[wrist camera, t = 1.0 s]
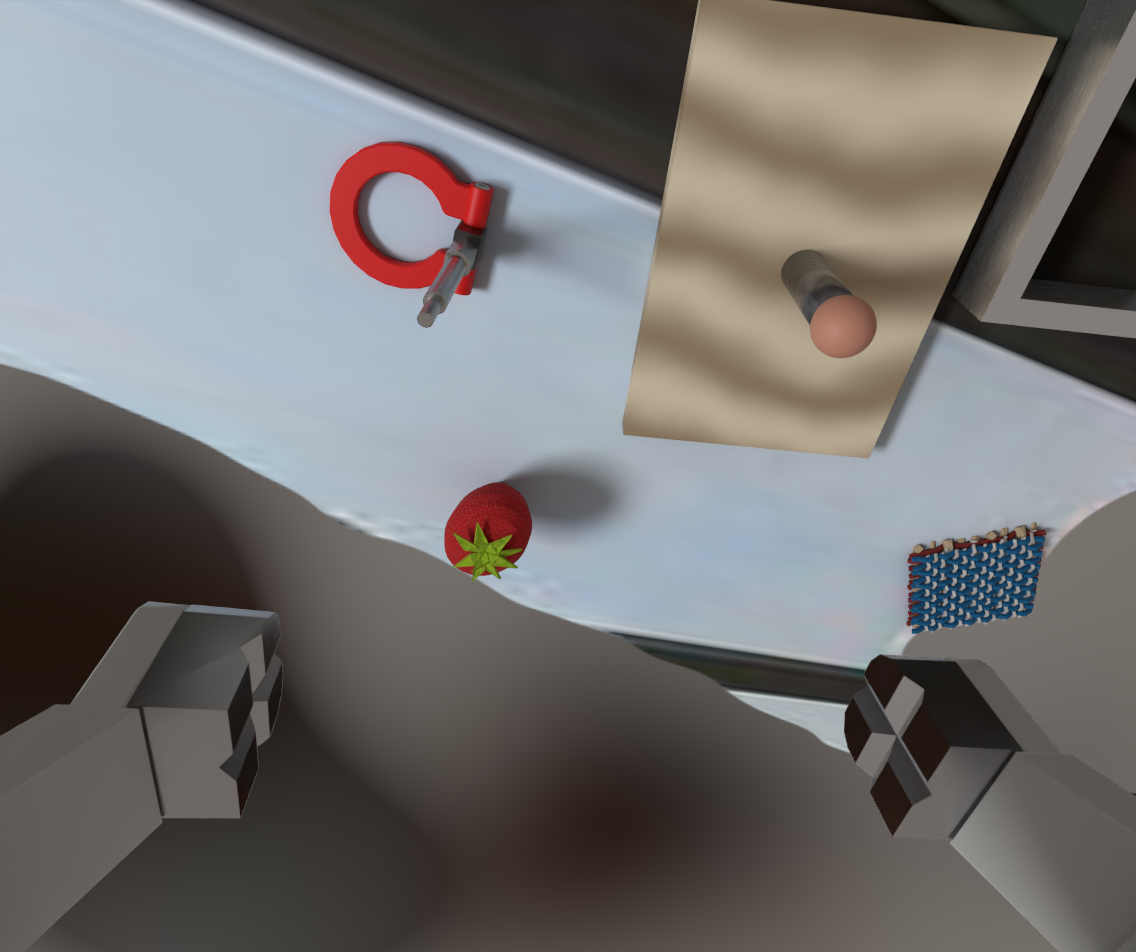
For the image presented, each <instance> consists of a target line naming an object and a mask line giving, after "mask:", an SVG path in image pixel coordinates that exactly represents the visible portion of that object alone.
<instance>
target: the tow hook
mask: <svg viewBox="0 0 1136 952" xmlns="http://www.w3.org/2000/svg"><path fill="white" fill-rule="evenodd" d="M385 172H401V173H404V174H408V175H411V176H413V177H415V178H417V179H418V180H420V181H422V182H423V183H424V184H425V185H426V186H427V187H428V188H430V189H431V190H432V191H433V193H434V194H435V196H436V197H437V199H438V200H439V202H440V204H441V207H442V210H443V212H444V213H445V214H446V215H448V216H451V217H455V218H458V219H461V220H462V221H461V222H460V223H459V225H458V227H457V228H456V230H455V233H454V238H453V243H452V244H451V246H450V247H449V249H448V250H445V249H439V250H437V251H436V252H435V254H433V255H431V256H430V257H428V258H427V259H424V260H421V261H417V262H402V261H398V260H394V259H391V258H390V257H388V256H386V255H384V254H382V253H381V252H380V251H379V250H377V249H376V248H375V247H374V246H373V245H372V244H371V243H370V241H369V240H368V238H367V237H366V236H365V234H364V232H363V229H362V227H361V225H360V221H359V216H358V200H359V197H360V194H361V191H362V189H363V187H364V186H365V185H366V183H367V182H368V180H370V179H371V178H373V177H374V176H376V175H379V174H382V173H385ZM493 191H494V189H493V188H492V187H490V186H488V185H486V184H483V183H478V182H471V183H470V184H467V183H464V182H461V181H458V180H457V178H456V176H455V175H454V173H453V172H452V171H451V170H450V169H449V168H448V167H447V166H446V165H445V164H444V163H443V162H442V161H441V160H440V159H439V158H438V157H436V156H434V155H433V154H431V153H429V152H427V151H426V150H424V149H422V148H420V147H418V146H414V145H410V144H407V143H403V142H380V143H377V144H374V145H371V146H368V147H364V148H363V149H361V150H360V151H359V152H357V153H356V154H354V155H353V156H352V157H350V158H349V159H348V160H346V162H345V163H344V165H343V166H342V167H341V169H340V170H339V172H338V173H337V174H336V177H335V180H334V183H333V186H332V189H331V192H330V215H331V220H332V225H333V229H334V232H335V234H336V236H337V238H338V240H339V242H340V245H341V247H342V248H343V250H344V251H345V252H346V254H347V255H348V256H349V257H350V259H351V260H352V261H353V263H354V264H356V265H357V266H358V267H359V268H360V269H361V270H363V271H364V272H365V273H366V274H367V275H369V276H371V277H372V278H374V279H376V280H378V281H380V282H382V283H384V284H387V285H391V286H395V287H399V288H423V287H427V286H430V285H431V286H430V288H429V290H428V291H427V293H426V294H425V296H424V298H423V304H424V306H423V308H422V310H421V311H420V313H419V315H418V317H417V321H418V323H419V324H420V325H421V326H422V327H426V328H427V327H430V326H432V324H433V323H434V321H435V319H436V317H437V315H438V314H441V313H443V312H444V311H445V309H446V308H447V306H448V304H449V302H450V300H451V298H452V296H453V294H454V293H456V294H460V295H469V294H471V290H472V286H473V281H474V277H475V272H476V268H477V264H478V262H479V260H480V257H481V253H482V248H483V244H484V239H485V235H486V230H487V227H486V223H487V218H488V214H489V209H490V205H491V200H492V196H493Z"/></svg>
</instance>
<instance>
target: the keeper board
mask: <svg viewBox="0 0 1136 952" xmlns="http://www.w3.org/2000/svg"><path fill="white" fill-rule="evenodd" d="M1057 39H1058V38H1055V37H1048V36H1042V35H1035V34H1027V33H1019V32H1012V31H1004V30H996V29H989V28H981V27H973V26H966V25H958V24H950V23H943V22H935V21H927V20H920V19H912V18H904V17H897V16H889V15H881V14H874V13H866V12H858V11H851V10H843V9H835V8H828V7H820V6H812V5H805V4H797V3H789V2H782V1H774V0H699V1H698V7H697V12H696V18H695V24H694V29H693V35H692V40H691V46H690V51H689V57H688V62H687V68H686V73H685V79H684V85H683V90H682V96H681V101H680V107H679V112H678V118H677V123H676V129H675V134H674V140H673V146H672V151H671V157H670V162H669V168H668V173H667V179H666V184H665V190H664V196H663V201H662V207H661V212H660V218H659V223H658V229H657V234H656V240H655V245H654V251H653V257H652V262H651V268H650V273H649V279H648V284H647V290H646V295H645V301H644V306H643V312H642V318H641V323H640V329H639V334H638V340H637V345H636V351H635V356H634V362H633V367H632V373H631V379H630V384H629V390H628V395H627V401H626V406H625V412H624V417H623V423H622V424H623V435H632V436H643V437H653V438H663V439H674V440H684V441H694V442H705V443H715V444H725V445H736V446H746V447H756V448H767V449H777V450H787V451H798V452H808V453H818V454H829V455H839V456H849V457H860V458H869V457H870V455H871V453H872V450H873V448H874V446H875V444H876V441H877V439H878V437H879V435H880V433H881V430H882V428H883V426H884V424H885V421H886V419H887V417H888V415H889V413H890V410H891V408H892V406H893V404H894V401H895V399H896V397H897V395H898V393H899V390H900V388H901V386H902V384H903V381H904V379H905V377H906V375H907V373H908V370H909V368H910V366H911V364H912V361H913V359H914V357H915V355H916V352H917V350H918V348H919V346H920V344H921V341H922V339H923V337H924V335H925V332H926V330H927V328H928V326H929V324H930V321H931V319H932V317H933V315H934V312H935V310H936V308H937V306H938V304H939V301H940V299H941V297H942V295H943V292H944V290H945V288H946V286H947V284H948V281H949V279H950V277H951V275H952V272H953V270H954V268H955V266H956V264H957V261H958V259H959V257H960V255H961V252H962V250H963V248H964V246H965V244H966V241H967V239H968V237H969V235H970V232H971V230H972V228H973V226H974V224H975V221H976V219H977V217H978V215H979V212H980V210H981V208H982V206H983V203H984V201H985V199H986V197H987V195H988V192H989V190H990V188H991V186H992V183H993V181H994V179H995V177H996V175H997V172H998V170H999V168H1000V166H1001V163H1002V161H1003V159H1004V157H1005V155H1006V152H1007V150H1008V148H1009V146H1010V143H1011V141H1012V139H1013V137H1014V135H1015V132H1016V130H1017V128H1018V126H1019V123H1020V121H1021V119H1022V117H1023V115H1024V112H1025V110H1026V108H1027V106H1028V103H1029V101H1030V99H1031V97H1032V95H1033V92H1034V90H1035V88H1036V86H1037V83H1038V81H1039V79H1040V77H1041V74H1042V72H1043V70H1044V68H1045V66H1046V63H1047V61H1048V59H1049V57H1050V54H1051V52H1052V50H1053V48H1054V46H1055V43H1056V41H1057Z"/></svg>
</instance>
